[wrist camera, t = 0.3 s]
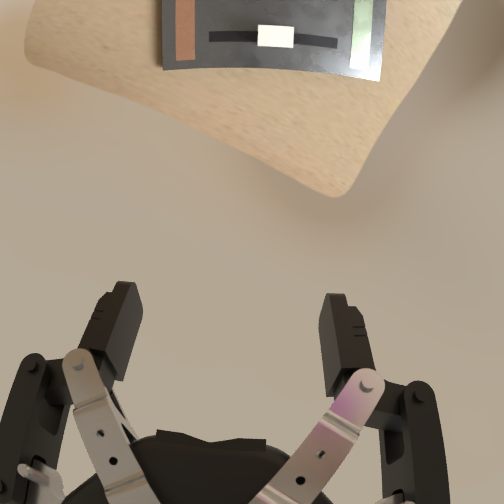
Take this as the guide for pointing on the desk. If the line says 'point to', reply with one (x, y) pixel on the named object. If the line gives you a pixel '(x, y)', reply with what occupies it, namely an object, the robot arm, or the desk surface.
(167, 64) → the switch panel
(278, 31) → the switch
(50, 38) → the desk surface
